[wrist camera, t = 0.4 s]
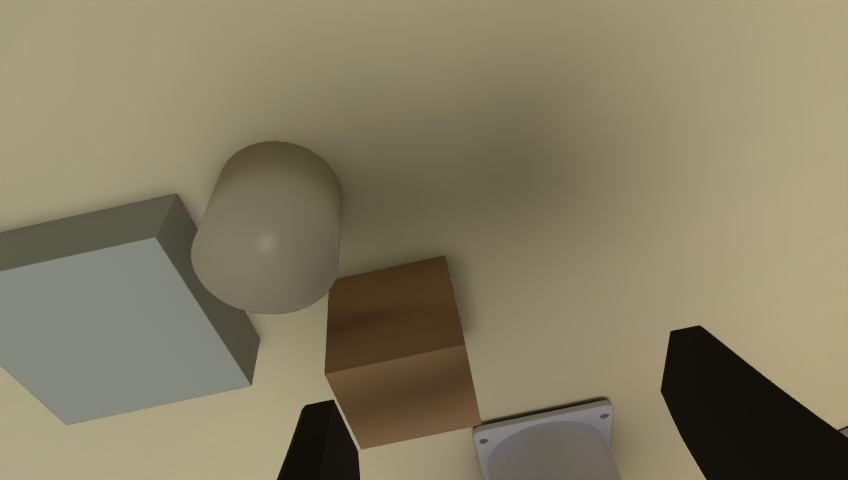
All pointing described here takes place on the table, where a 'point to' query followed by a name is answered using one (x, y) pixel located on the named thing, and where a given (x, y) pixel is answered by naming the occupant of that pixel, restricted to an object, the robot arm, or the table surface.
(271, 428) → the table surface
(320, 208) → the grey rounded lump
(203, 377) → the slate plinth
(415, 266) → the walnut cube
